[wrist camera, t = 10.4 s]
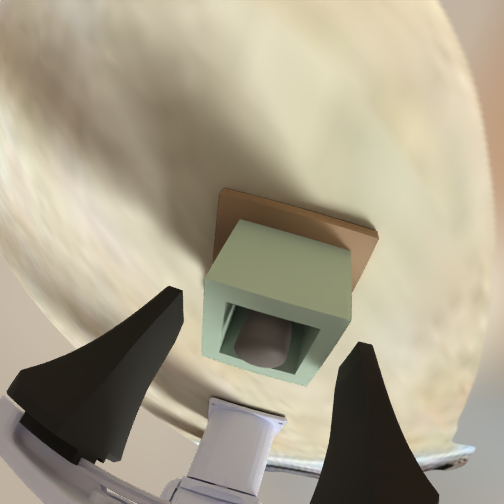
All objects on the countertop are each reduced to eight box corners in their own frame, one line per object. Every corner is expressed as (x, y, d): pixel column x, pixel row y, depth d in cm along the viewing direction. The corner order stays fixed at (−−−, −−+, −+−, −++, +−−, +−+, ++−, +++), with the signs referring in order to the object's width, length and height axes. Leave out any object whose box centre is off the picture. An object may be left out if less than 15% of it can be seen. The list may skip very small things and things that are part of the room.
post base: (327, 329, 16) (317, 407, 12) (213, 296, 17) (177, 366, 13) (377, 231, 12) (391, 318, 8) (224, 188, 12) (168, 254, 8)
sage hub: (316, 322, 15) (306, 386, 12) (228, 297, 16) (201, 355, 12) (350, 250, 12) (351, 319, 9) (239, 218, 12) (204, 277, 9)
